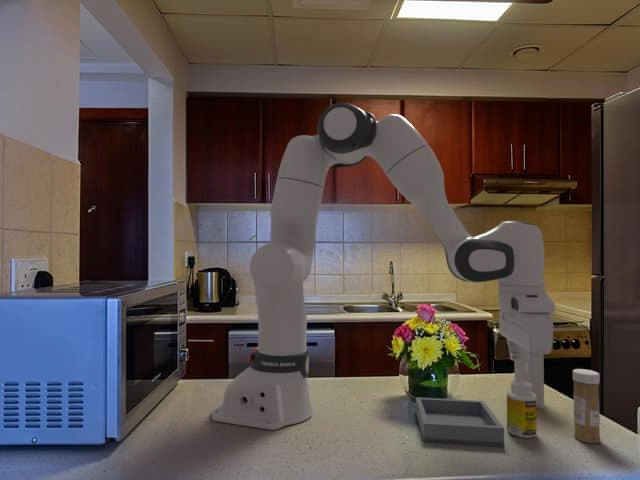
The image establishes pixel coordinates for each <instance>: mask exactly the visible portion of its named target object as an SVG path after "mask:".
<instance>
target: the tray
mask: <svg viewBox="0 0 640 480" xmlns="http://www.w3.org/2000/svg"><path fill="white" fill-rule="evenodd" d="M415 415H416V419H417V421H418V422H419V423H418V425H419V430H420V433H421V437H422V440H423V442H424V443H436V444H437V443H438V444H451V445H452V444H453V445H468V446H484V447H496V448H497V447H499V448H505V427H504V426H503V424H502V423H501V422H500V421H499V419H498V418H497V416H496V415H495V414H494V413H493V411H492V410H491V409H490V407H488V404H487V403H486V402H485V401H484V400H473V399H471V400H470V399H455V398H453V399H452V398H434V397H416V396H415Z"/></svg>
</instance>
